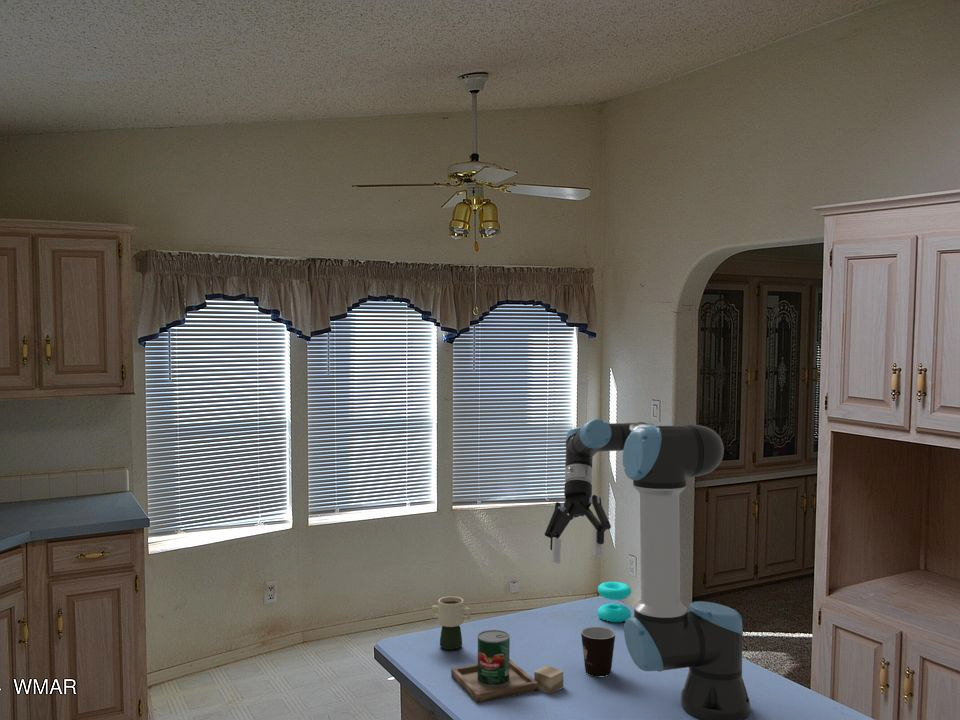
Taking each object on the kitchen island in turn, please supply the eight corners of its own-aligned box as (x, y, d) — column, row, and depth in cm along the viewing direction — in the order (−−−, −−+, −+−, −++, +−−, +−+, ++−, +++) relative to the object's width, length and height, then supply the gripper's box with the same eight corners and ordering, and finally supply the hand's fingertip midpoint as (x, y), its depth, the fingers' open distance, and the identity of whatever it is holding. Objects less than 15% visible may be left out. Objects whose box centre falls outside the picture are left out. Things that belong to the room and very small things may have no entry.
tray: (538, 690, 192) (538, 682, 191) (476, 702, 185) (476, 694, 185) (509, 666, 206) (509, 658, 206) (451, 676, 200) (451, 668, 200)
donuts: (591, 585, 242) (610, 578, 249) (591, 618, 242) (609, 610, 250) (619, 592, 235) (637, 585, 242) (618, 626, 235) (637, 617, 243)
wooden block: (563, 687, 194) (563, 671, 194) (550, 694, 190) (550, 677, 190) (547, 681, 197) (547, 665, 197) (534, 687, 194) (534, 671, 193)
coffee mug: (614, 680, 198) (614, 640, 197) (579, 677, 199) (579, 637, 199) (616, 662, 209) (616, 624, 209) (583, 659, 211) (583, 621, 210)
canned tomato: (480, 688, 191) (480, 642, 191) (474, 674, 199) (475, 630, 199) (512, 685, 192) (512, 640, 192) (506, 672, 200) (506, 629, 200)
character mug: (473, 644, 221) (473, 597, 221) (467, 653, 214) (467, 605, 214) (435, 641, 224) (435, 594, 223) (428, 650, 217) (428, 602, 217)
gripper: (534, 486, 227) (530, 561, 217) (607, 470, 211) (607, 550, 201) (551, 494, 231) (548, 567, 221) (624, 479, 215) (624, 557, 205)
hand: (576, 559), depth 211 cm, fingers open, 13 cm apart
